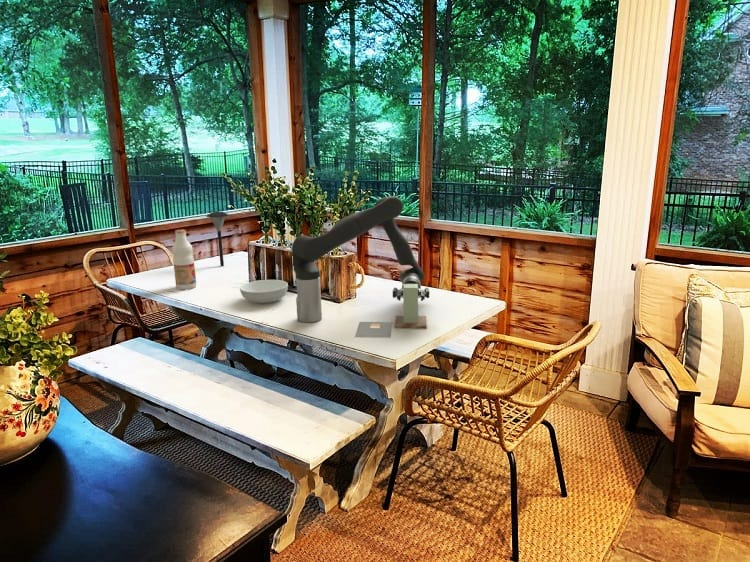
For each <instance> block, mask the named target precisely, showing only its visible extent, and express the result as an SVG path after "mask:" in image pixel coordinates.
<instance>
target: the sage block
mask: <svg viewBox="0 0 750 562" xmlns="http://www.w3.org/2000/svg"><path fill="white" fill-rule="evenodd" d="M402 299H403V303H402V305H403V307H402V309H403V311H402V313H403V315H402V316H403V323H418V316H419V298H418V284H403V298H402Z"/></svg>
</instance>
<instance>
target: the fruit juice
mask: <svg viewBox="0 0 750 562" xmlns="http://www.w3.org/2000/svg"><path fill="white" fill-rule="evenodd" d="M174 233H175V234H174V235H175V241H174V243H173V244H172V247H171V249H172V250H171V251H172V254H173V259H172V260H173V261H172V263H173V272H174V280H175V286H176V287H175V288H176V289H177V290H180V289H187V290H191V288H192V289H194V288H196V287H197V278H196V268H195V267H196V266H195V259H194V256H193V246H192V244H191V242H189V240H188V238H187V235H186V234H187V230H186V229H175V230H174Z"/></svg>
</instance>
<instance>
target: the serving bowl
mask: <svg viewBox="0 0 750 562" xmlns="http://www.w3.org/2000/svg"><path fill="white" fill-rule="evenodd" d="M288 288H289V285H288V282H287V281H284V280H280V279H259V280H254V281H249V282H247V283H244V284H242V285H241V286H240V287H239V291H240V294H241V295H242V297H243V298H244V299H245V300H246V301H248V302H252V303H256V304H257V303H258V304H269V303H273V302H275V301H279V300H280V299H282V298H284V297H285V296H286V294H287V291H288V290H289V289H288Z"/></svg>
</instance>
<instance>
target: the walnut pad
mask: <svg viewBox="0 0 750 562" xmlns="http://www.w3.org/2000/svg"><path fill="white" fill-rule="evenodd" d="M427 328H428V327H427V316H426V315H418V323H403V315H395V320H394V329H416V330H417V329H421V330H422V329H425V330H426V329H427Z"/></svg>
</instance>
